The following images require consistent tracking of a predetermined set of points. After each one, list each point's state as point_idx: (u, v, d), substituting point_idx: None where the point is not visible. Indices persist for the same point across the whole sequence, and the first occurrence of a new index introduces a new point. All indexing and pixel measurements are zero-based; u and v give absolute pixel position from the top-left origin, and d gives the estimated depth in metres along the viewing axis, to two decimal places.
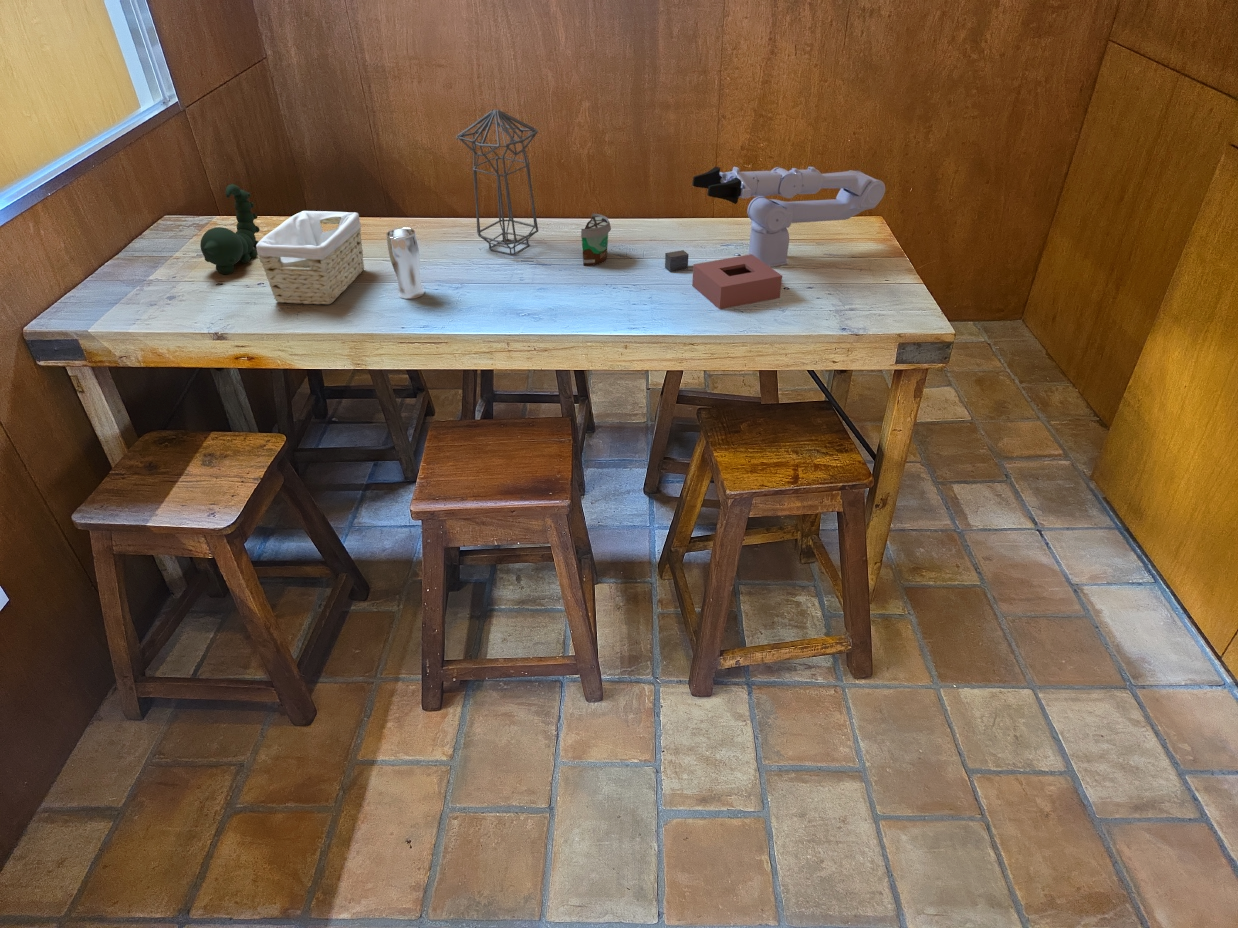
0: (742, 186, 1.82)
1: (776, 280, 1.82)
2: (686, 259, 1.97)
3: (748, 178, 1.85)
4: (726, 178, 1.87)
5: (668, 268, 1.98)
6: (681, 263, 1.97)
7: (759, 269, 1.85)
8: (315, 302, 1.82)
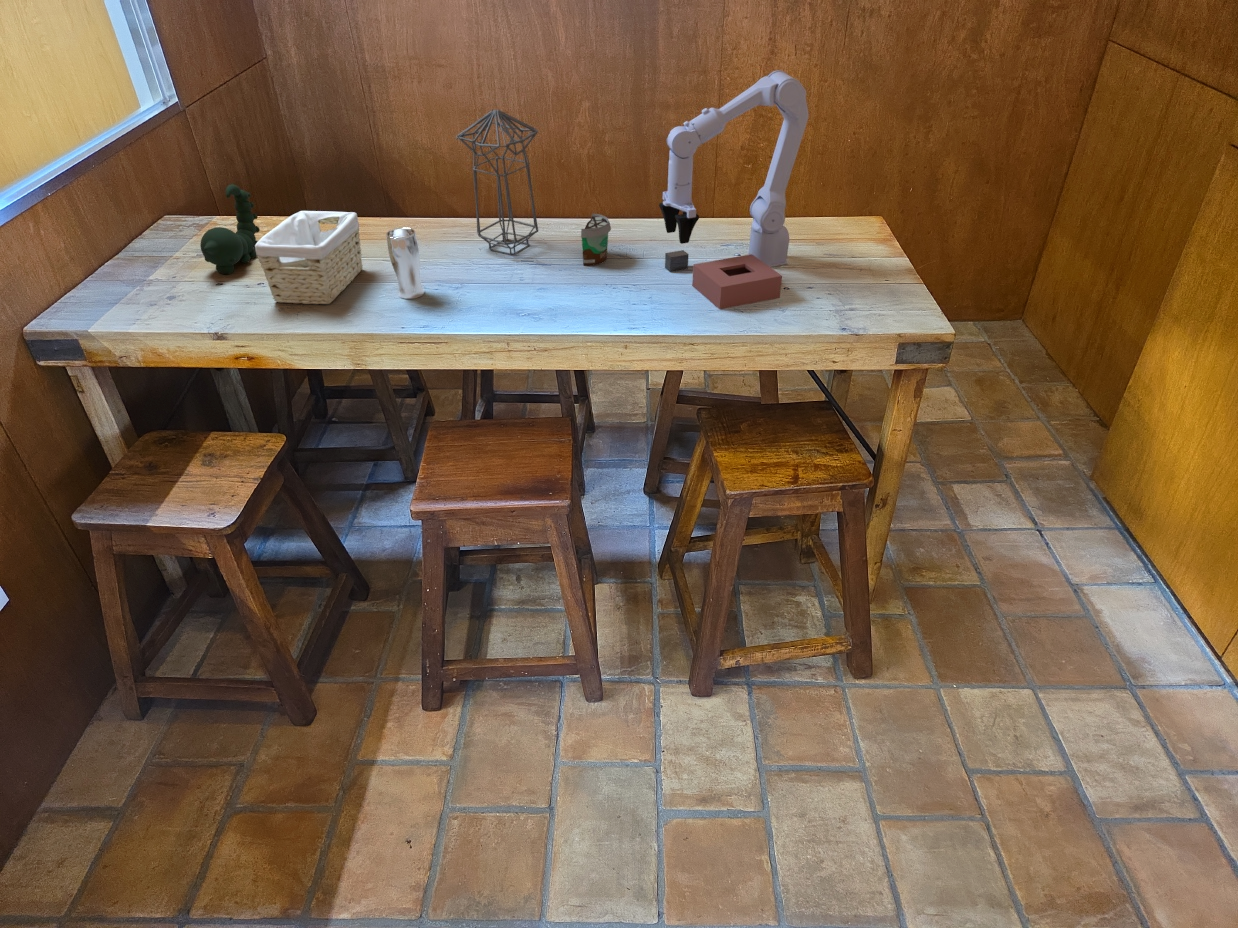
0: None
1: (776, 280, 1.82)
2: (686, 259, 1.97)
3: (675, 194, 1.85)
4: None
5: (668, 268, 1.98)
6: (681, 263, 1.97)
7: (759, 269, 1.85)
8: (314, 302, 1.82)
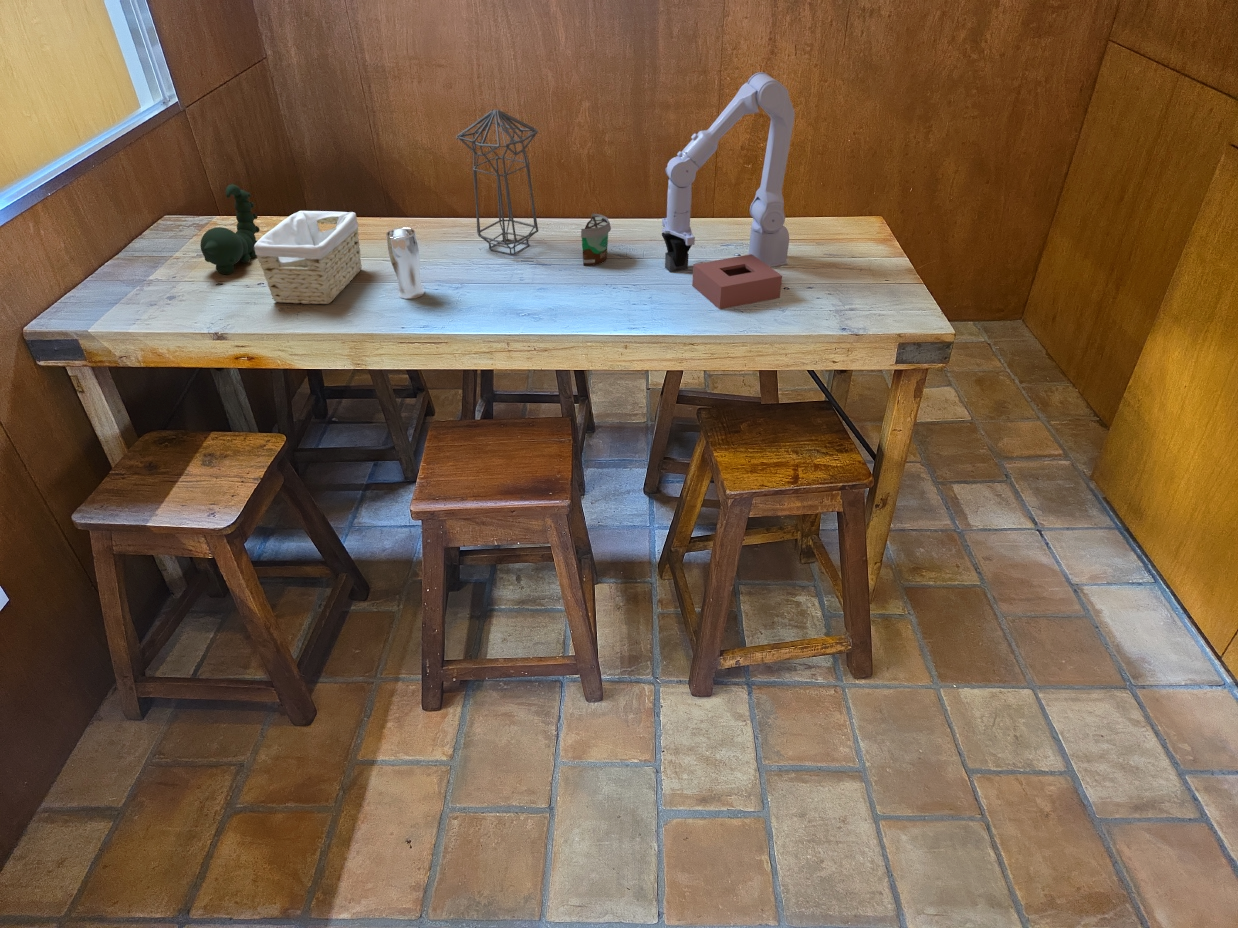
0: None
1: (776, 280, 1.82)
2: (686, 259, 1.97)
3: (674, 222, 1.89)
4: None
5: (668, 268, 1.98)
6: None
7: (759, 269, 1.85)
8: (313, 302, 1.82)
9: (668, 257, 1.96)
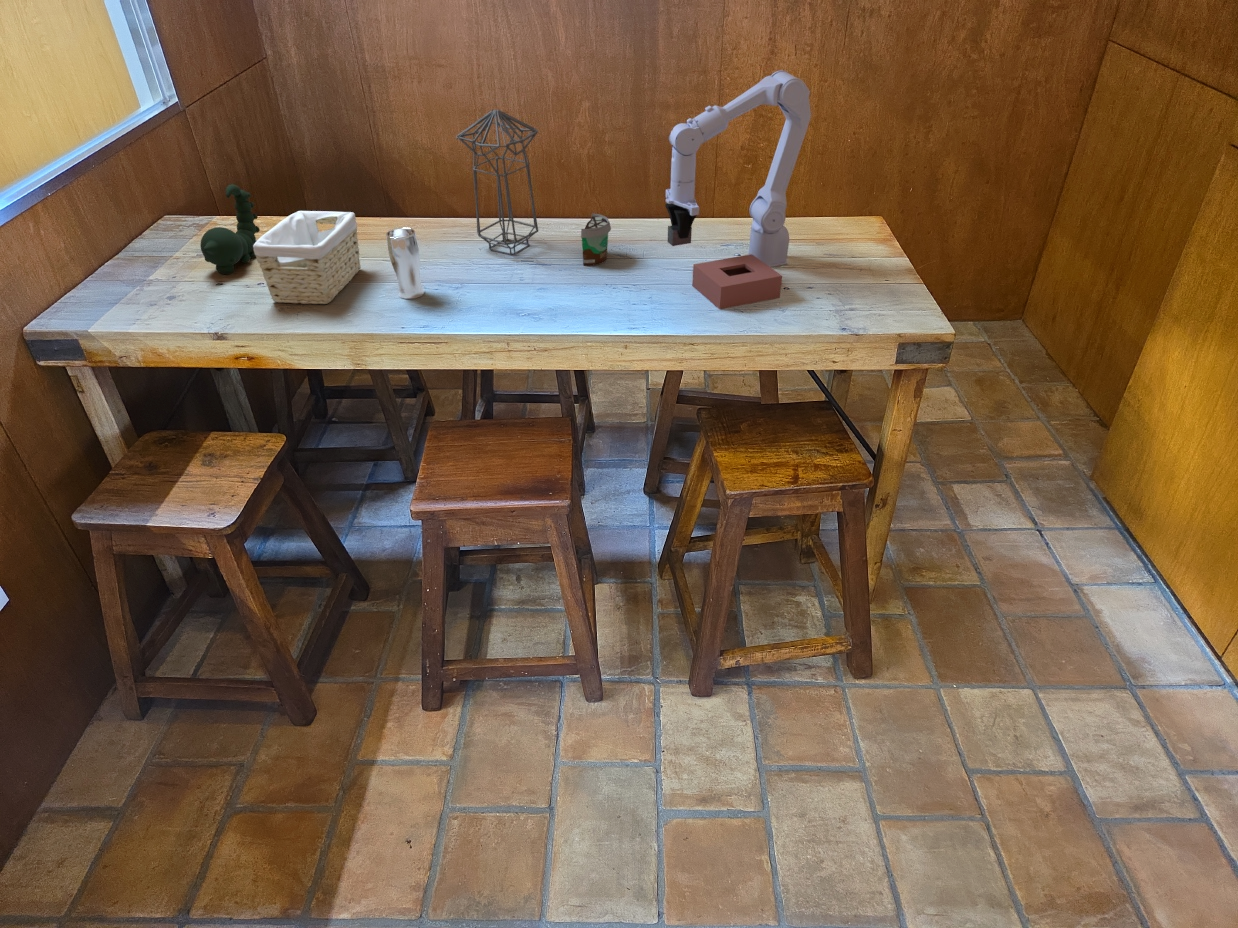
0: None
1: (776, 280, 1.82)
2: None
3: (678, 192, 1.84)
4: None
5: (670, 242, 1.93)
6: None
7: (759, 269, 1.85)
8: (312, 302, 1.82)
9: (671, 230, 1.91)
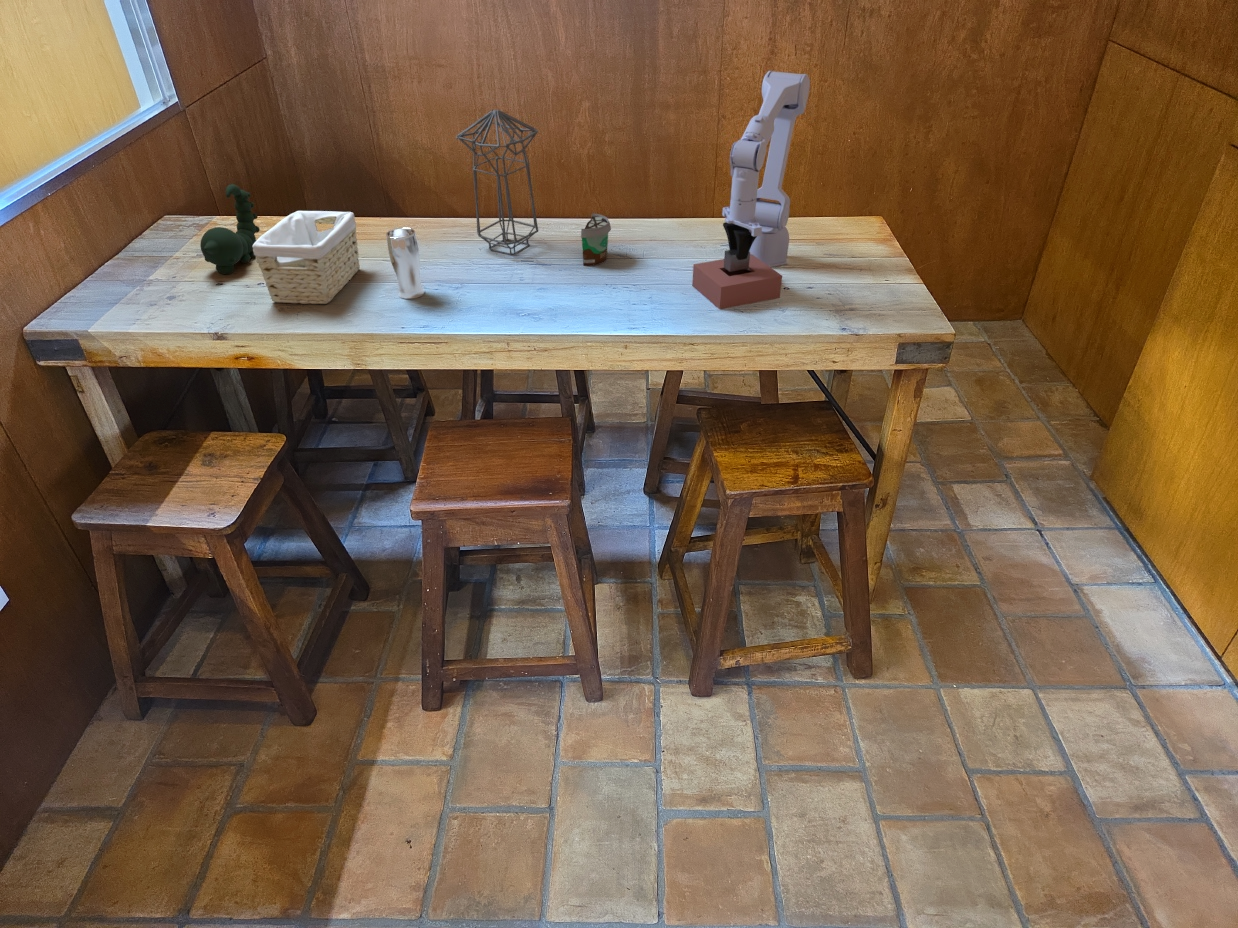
0: None
1: (776, 280, 1.82)
2: (747, 257, 1.82)
3: (739, 211, 1.74)
4: None
5: (727, 267, 1.83)
6: (742, 261, 1.82)
7: (759, 269, 1.85)
8: (312, 302, 1.83)
9: (728, 255, 1.81)
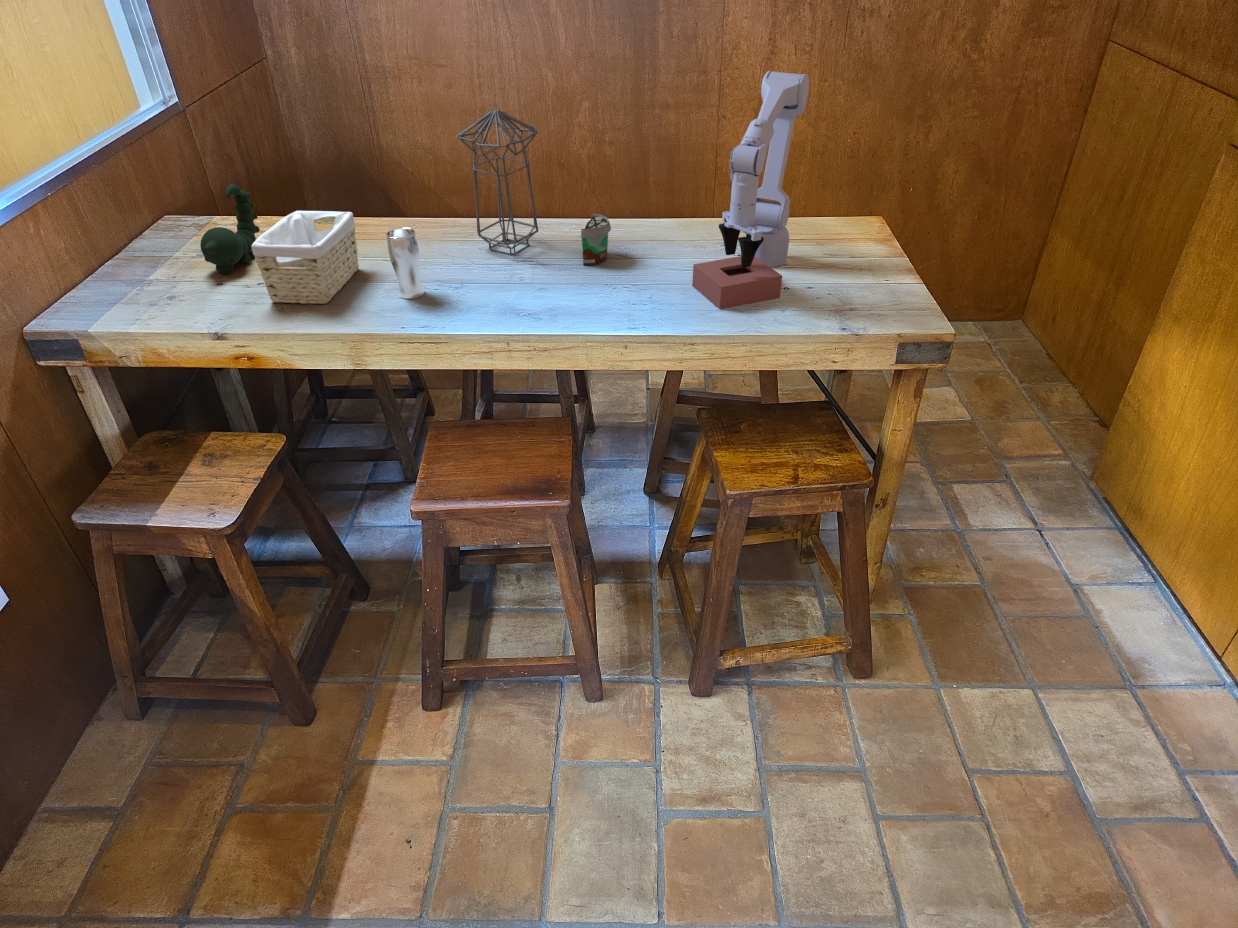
0: None
1: (776, 280, 1.82)
2: None
3: (739, 216, 1.74)
4: None
5: None
6: None
7: (759, 269, 1.85)
8: (311, 301, 1.83)
9: None
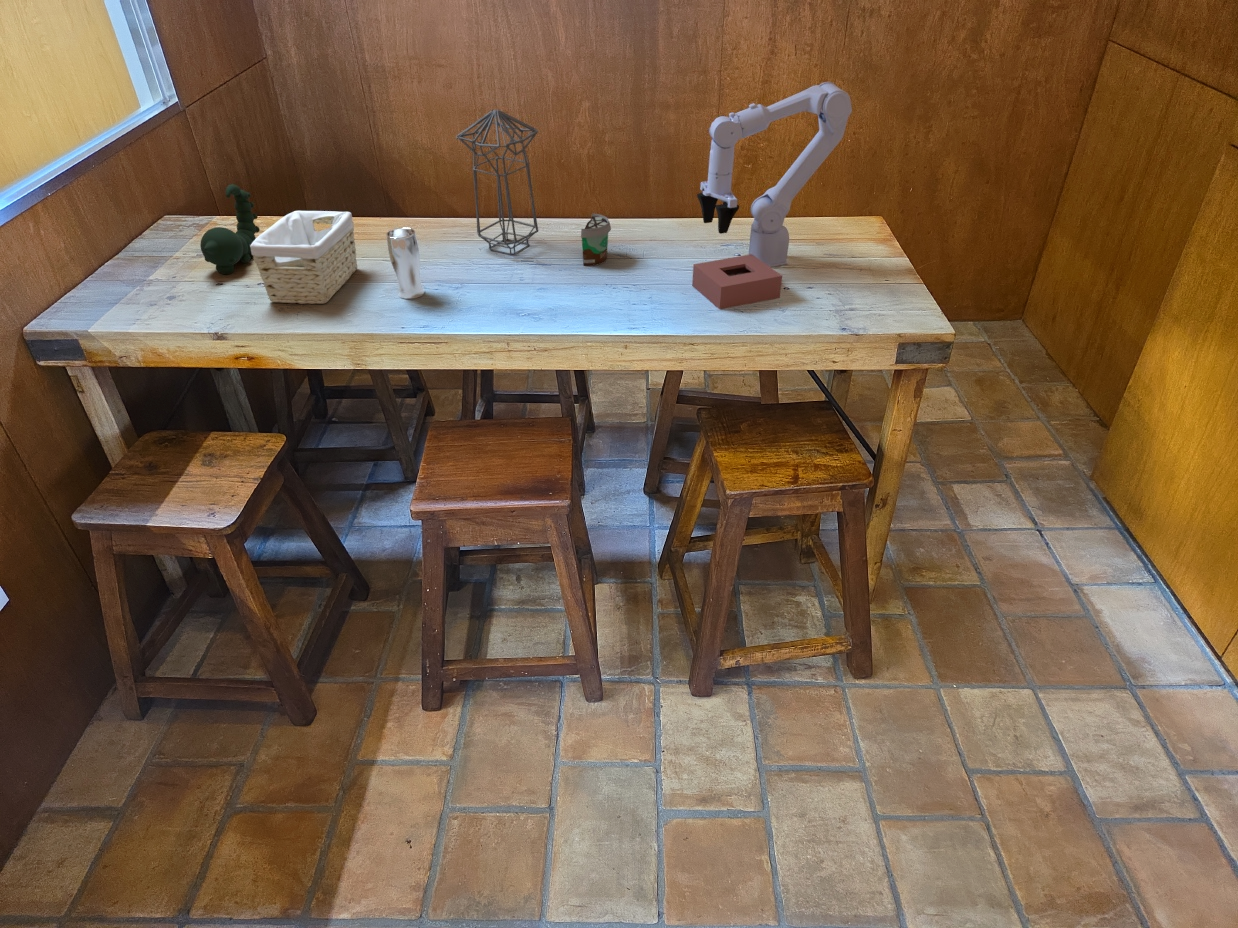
0: None
1: (776, 280, 1.82)
2: None
3: (716, 184, 1.86)
4: None
5: None
6: None
7: (759, 269, 1.85)
8: (310, 301, 1.83)
9: None
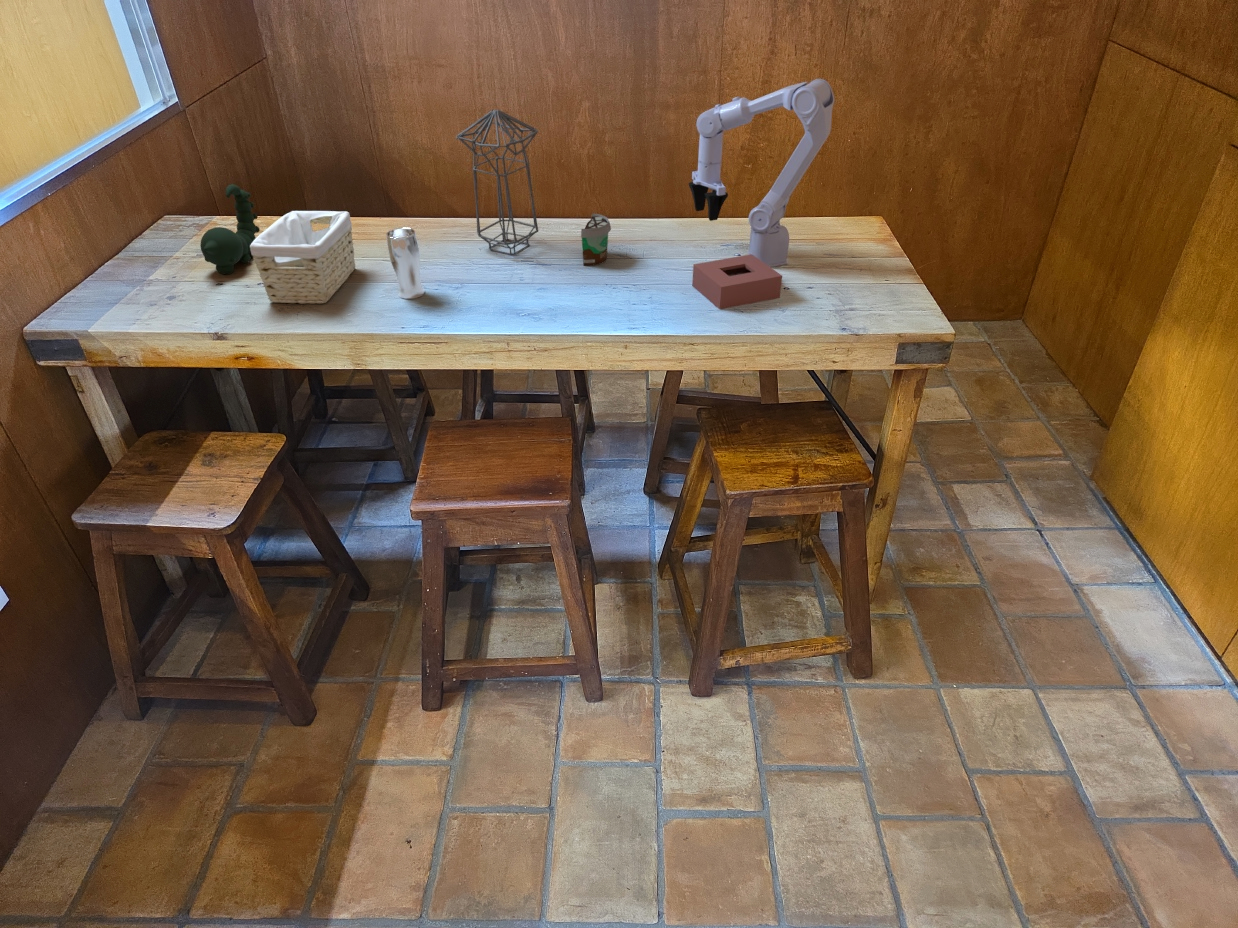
0: None
1: (776, 280, 1.82)
2: None
3: (705, 173, 1.94)
4: None
5: None
6: None
7: (759, 269, 1.85)
8: (310, 301, 1.83)
9: None
